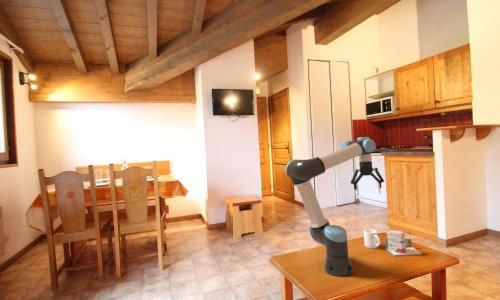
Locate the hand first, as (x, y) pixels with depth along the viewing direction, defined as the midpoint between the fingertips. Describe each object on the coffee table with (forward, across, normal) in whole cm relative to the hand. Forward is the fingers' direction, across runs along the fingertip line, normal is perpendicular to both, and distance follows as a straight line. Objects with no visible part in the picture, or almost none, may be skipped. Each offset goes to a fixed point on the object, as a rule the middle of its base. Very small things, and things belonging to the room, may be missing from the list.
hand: (368, 194), depth 168 cm
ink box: (+36, +13, -4) cm, 38 cm away
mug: (+37, +3, +7) cm, 38 cm away
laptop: (+37, +17, -3) cm, 41 cm away
